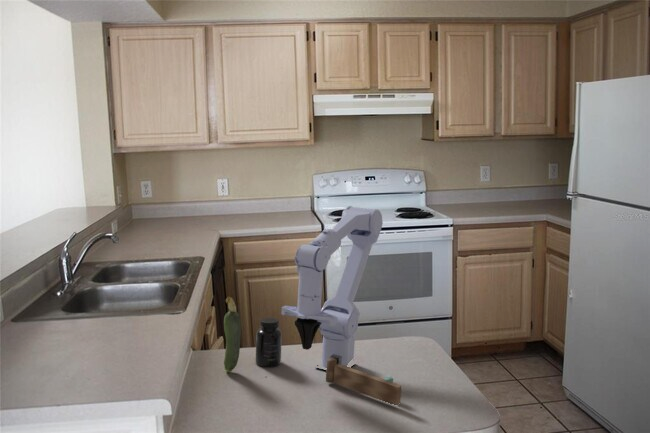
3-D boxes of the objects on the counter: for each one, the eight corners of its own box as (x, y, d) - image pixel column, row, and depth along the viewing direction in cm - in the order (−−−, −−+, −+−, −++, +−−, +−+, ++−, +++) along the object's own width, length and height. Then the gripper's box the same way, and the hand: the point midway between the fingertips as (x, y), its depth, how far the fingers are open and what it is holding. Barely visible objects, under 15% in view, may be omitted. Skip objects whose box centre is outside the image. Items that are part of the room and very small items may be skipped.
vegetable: (240, 370, 151) (243, 294, 148) (238, 376, 147) (241, 299, 144) (223, 369, 151) (225, 294, 148) (220, 376, 147) (223, 298, 144)
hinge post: (331, 378, 149) (333, 354, 148) (340, 380, 148) (341, 356, 147) (329, 380, 148) (330, 356, 147) (337, 383, 146) (338, 358, 146)
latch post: (385, 396, 140) (386, 376, 140) (393, 398, 139) (394, 378, 139) (381, 399, 139) (383, 379, 138) (389, 401, 138) (391, 381, 137)
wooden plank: (323, 380, 145) (325, 359, 145) (329, 378, 147) (330, 357, 146) (395, 407, 133) (397, 384, 132) (401, 404, 135) (402, 381, 134)
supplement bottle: (252, 359, 159) (254, 316, 157) (276, 357, 161) (278, 315, 159) (258, 369, 152) (260, 324, 151) (283, 367, 155) (285, 323, 153)
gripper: (275, 292, 141) (273, 346, 143) (328, 303, 134) (325, 359, 136) (290, 286, 147) (288, 338, 149) (342, 296, 141) (338, 350, 142)
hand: (307, 348), depth 143 cm, fingers closed
